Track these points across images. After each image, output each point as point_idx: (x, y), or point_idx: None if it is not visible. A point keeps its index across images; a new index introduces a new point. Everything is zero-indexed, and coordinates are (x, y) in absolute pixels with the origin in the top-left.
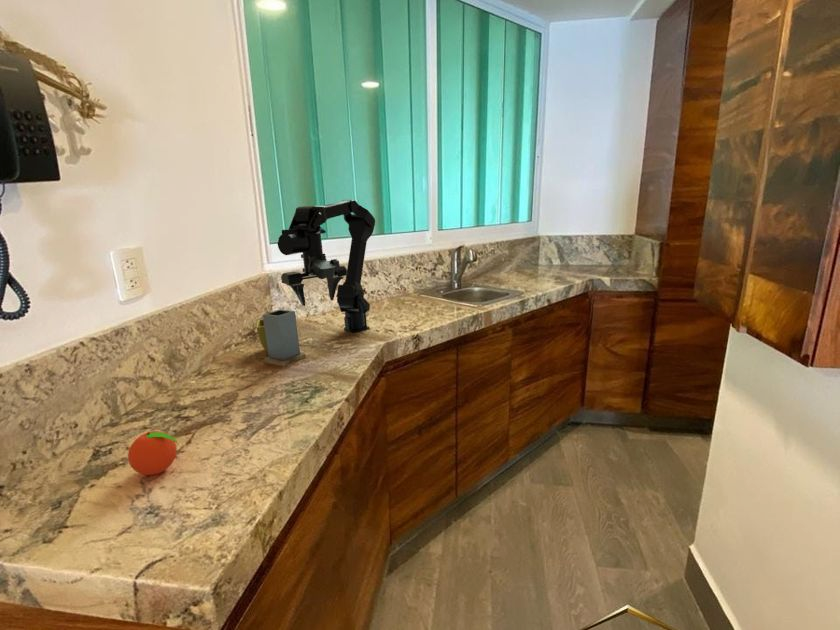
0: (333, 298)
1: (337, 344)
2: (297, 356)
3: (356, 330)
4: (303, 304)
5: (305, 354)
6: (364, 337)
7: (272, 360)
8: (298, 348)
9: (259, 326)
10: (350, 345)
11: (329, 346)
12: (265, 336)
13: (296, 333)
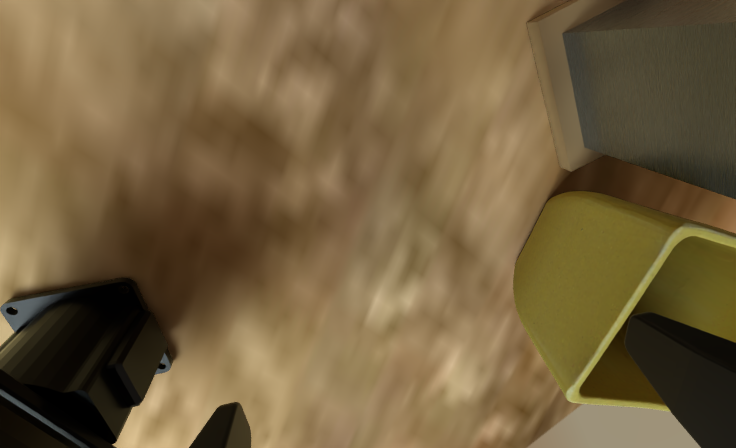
0: (208, 423)
1: (290, 128)
2: (592, 4)
3: (106, 287)
4: (673, 325)
5: (536, 20)
6: (81, 151)
7: None
8: (598, 26)
9: (725, 338)
10: (220, 46)
11: (343, 124)
12: (720, 229)
13: (697, 20)
